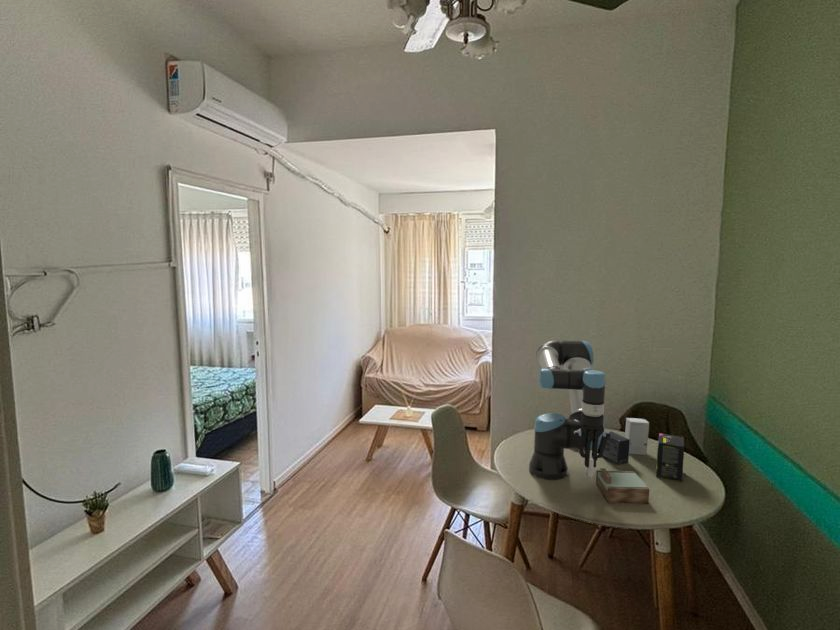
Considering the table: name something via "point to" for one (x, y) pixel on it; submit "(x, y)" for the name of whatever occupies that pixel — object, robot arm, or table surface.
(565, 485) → the table surface
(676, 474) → the tampon box
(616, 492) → the box
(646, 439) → the skincare box
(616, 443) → the small box
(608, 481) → the cover plate
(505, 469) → the table surface
